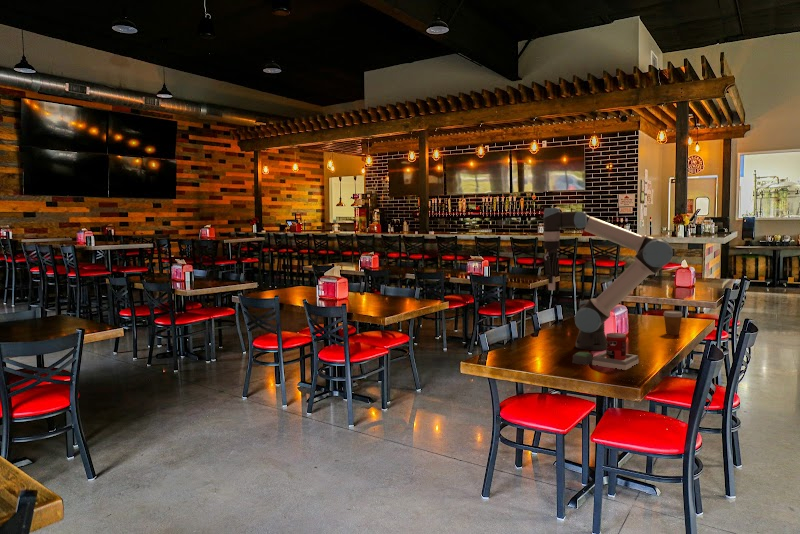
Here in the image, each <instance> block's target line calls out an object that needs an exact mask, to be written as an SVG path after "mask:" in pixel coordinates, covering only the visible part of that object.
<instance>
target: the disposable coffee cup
mask: <svg viewBox="0 0 800 534" xmlns="http://www.w3.org/2000/svg"><path fill="white" fill-rule="evenodd" d="M662 314H663V317H664V318H663V319H664V325H665V326H664V327H665V333H667V334H666V335H668V334H670V336H678V335H680V330H681V326H682V325H681V323H682V318H683V312H682V311H679V310H665V311H664V312H663V313H662Z"/></svg>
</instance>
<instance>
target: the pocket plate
mask: <svg viewBox="0 0 800 534" xmlns="http://www.w3.org/2000/svg"><path fill="white" fill-rule="evenodd" d="M639 363H640V361H639V354H637V355H636V354H629V353H626V359H625V360H616V359H610V358H606V350H605V351H603V352H601V353H599V354H597V355H593V360H592V363H591V365H592V366H596V365H598V367H604V368H610V369H615V368H617V370H621V369H622V370H623V371H627V370H629V369H631V368H633V367H634V365H635V366H636V364H637V365H638V364H639ZM632 366H633V367H632Z"/></svg>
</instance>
